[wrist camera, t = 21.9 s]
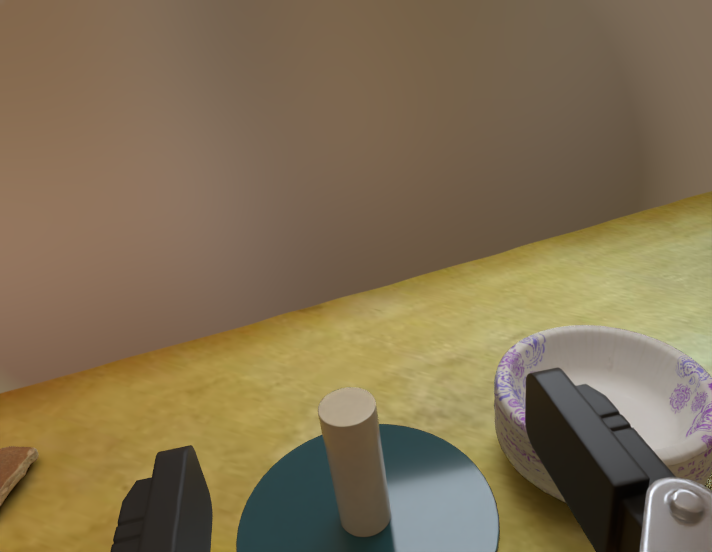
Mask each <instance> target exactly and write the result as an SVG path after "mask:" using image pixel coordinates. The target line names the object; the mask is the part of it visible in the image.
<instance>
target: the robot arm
mask: <svg viewBox="0 0 712 552" xmlns="http://www.w3.org/2000/svg"><path fill="white" fill-rule="evenodd" d="M525 426H526V431H527V435H528V438H529V441H530V443H531V445H532V447H533V449H534V451H535V452H536V454H537V456H538V457H539V459H540V460H541V462H542V464H543V465H544V467H545V469H546V470H547V472H548V474H549V475H550V477H551V478H552V480H553V482H554V483H555V485H556V487H557V488H558V490H559V492H560V493H561V495H562V496H563V498H564V500H565V501H566V503H567V505H568V506H569V508H570V510H571V511H572V513H573V515H574V516H575V518H576V519H577V521H578V523H579V524H580V526H581V528H582V529H583V531H584V533H585V534H586V536H587V537H588V539H589V541H590V542H591V544H592V546H593V547H594V549H595V551H596V552H712V491H711V490H710V489H709V488H707V487H705V486H704V485H702V484H700V483H697V482H695V481H692V480H689V479H685V478H679V477H676V476H675V475H674V474H673V473H672V472H671V471H670V469H669V468H668V467H667V466H666V465H665V464H664V463H663V461H662V460H661V459H660V458H659V457H658V456H657V454H656V453H655V452H654V451H653V450H652V449H651V447H650V446H649V445H648V444H647V443H646V442H645V441H644V439H643V438H642V437H641V436H640V435H639V434H638V432H637V431H636V430H635V429H634V428H631V426H630V423H629V422H628V421H627V420H626V419H625V417H624V416H623V415H620V413H619V410H618V409H617V408H616V407H615V406H614V405H613V403H612V402H611V401H610V400H609V399H608V398H607V397H606V396H605V395H604V394H602V393H600V392H599V391H597V390H595V389H594V388H592V387H590V386H589V385H587V384H582V385H577V386H575V385H574V383H573V382H572V381H571V380H570V379H569V377H568V376H567V375H566V374H565V372H564V371H563V370H562V369H561V368H558V367H557V368H552V369H547V370H542V371H538V372H533V373H529V374H528V375H527V377H526V398H525ZM211 533H212V504H211V498H210V493H209V490H208V487H207V484H206V481H205V478H204V475H203V473H202V470H201V467H200V464H199V461H198V458H197V455H196V452H195V450H194V448H193V446H191V445H190V446H185V447H181V448H176V449H171V450H166V451H161V452H158V453H157V455H156V459H155V464H154V469H153V474H152V478H147V479H142V480H138V481H136V482H135V484H134V485H133V487H132V488H131V490H130V491H129V493H128V494H127V496H126V497H125V499H124V500H123V502H122V506H121V510H120V514H119V519H118V527H116V531H115V535H114V539H113V541H114V544H113V545H112V547H111V552H210V548H211Z"/></svg>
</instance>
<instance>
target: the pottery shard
mask: <svg viewBox="0 0 712 552" xmlns="http://www.w3.org/2000/svg"><path fill="white" fill-rule="evenodd" d="M37 458H38V451H37V449H35V448H32V447H14V446H13V447H12V446H11V447H6V448H2V449H0V506H1V505H2V503H3V501H4V500H5V499H6V497H7V495H8V494H9V493H10V491H11V490H12V489H13V487H14V486H15V485H16V484H17V483H18V481H19V480H20V479H21V478H23V477H24V476H25V475H26V471H27V469H28V467H29V466H30V464H31V463H33V462H34V461H36V460H37Z"/></svg>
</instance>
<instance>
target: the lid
mask: <svg viewBox="0 0 712 552" xmlns="http://www.w3.org/2000/svg"><path fill="white" fill-rule="evenodd" d="M318 415H319V420H320V425H321V430H322V435H320V436H318V437H316V438H314V439H311V440H309V441H307V442H305V443H304V444H302V445H300V446H298V447H297V448H295V449H294V450H292V451H291V452H289V453H288V454H287V455H285V456H284V457H283V458H282V459H280V460H279V461H278V462H277V463H276V464H275V465H273V466H272V468H271V469H270V470H269V471H268V472H267V473H266V474H265V475H264V476H263V477H262V479H261V480H260V481H259V483H258V484H257V486H256V487H255V488H254V490H253V492H252V494H251V495H250V497H249V499H248V501H247V503H246V505H245V508H244V510H243V513H242V516H241V519H240V523H239V527H238V533H237V541H236V550H237V552H498V549H499V540H500V530H499V515H498V510H497V505H496V501H495V498H494V496H493V493H492V490H491V488H490V486H489V484H488V483H487V481H486V479H485V477H484V476H483V474H482V473H481V472H480V470H479V469H478V468H477V466H476V465H475V464H474V463H473V462H472V461H471V460H470V459H469V458H468V457H467V456H466V455H465V454H464V453H463V452H461V451H460V450H459V449H457V448H456V447H455V446H453V445H452V444H450V443H448V442H447V441H445V440H443V439H441V438H439V437H437V436H435V435H433V434H430V433H427V432H424V431H421V430H419V429H414V428H410V427H406V426H399V425H391V424H379V421H378V414H377V407H376V401H375V398H374V397H373V395H372V394H371V393H369V392H368V391H366V390H364V389H361V388H355V387H348V388H342V389H338V390H335V391H333V392H331V393H329V394H328V395H326V396H325V397H324V398H323V399H322V401H321V402H320V404H319V407H318Z"/></svg>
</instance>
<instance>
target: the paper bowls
mask: <svg viewBox="0 0 712 552" xmlns="http://www.w3.org/2000/svg"><path fill="white" fill-rule="evenodd" d="M557 367H558V368H561V369H562V370H563V371H564V372H565V374H566V375H567V376H568V377H569V379H570V380H571V381H572V382H573V383H574V385H575V386H577V385H582V384H587V385H589V386H590V387H592V388H594V389H595V390H597V391H599V392H600V393H602V394H604V395H605V396H606V397H607V398H608V399H609V400H610V401H611V402H612V403H613V405H614V406H615V407H616V408H617V409H618V410H619V413H620V415H623V416H624V417H625V419H626V420H627V421H628V422H629V423H630V426H631V428H634V429H635V430H636V431H637V432H638V434H639V435H640V436H641V437H642V438H643V439H644V441H645V442H646V443H647V444H648V445H649V446H650V447H651V449H652V450H653V451H654V452H655V453H656V454H657V456H658V457H659V458H660V459H661V460H662V461H663V463H664V464H665V465H666V466H667V467H668V468H669V469H670V471H671V472H672V473H673V474H674V475H675V476H676V477H679V478H685V479H689V480H692V481H695V482H697V483H700V484H702V485H704V486H705V484H706V483H707V481H708V478H709V477H710V476H711V473H712V378H711V376H710V375H709V374H708V373H707V372H706V371H705V370H704V369H703V367H702V366H700V365H699V364H698V363H697V362H696V361H694V360H693V359H692V358H690V357H689V356H687V355H686V354H684V353H683V352H681V351H679V350H678V349H676V348H674V347H672V346H670V345H668V344H666V343H664V342H662V341H660V340H657V339H655V338H652V337H649V336H646V335H643V334H640V333H636V332H632V331H628V330H624V329H619V328H613V327H606V326H593V325H575V326H564V327H557V328H553V329H548V330H544V331H541V332H538V333H535V334H533V335H530V336H528V337H526V338H524V339H522V340H521V341H519V342H518V343H516V344H515V345H514V346H512V347H511V348H510V349H509V350H508V351H507V352H506V354H505V355H504V356H503V358H502V359H501V361H500V363H499V365H498V368H497V371H496V375H495V380H494V395H495V400H494V409H495V428H496V433H497V437H498V440H499V443H500V446H501V448H502V450H503V452H504V453H505V455H506V456H507V458H508V459H509V461H510V462H511V464H512V465H513V466H514V467H515V469H516V470H517V471H518V472H519V473H520V474H521V475H522V476H523V477H524V478H526V479H527V480H528V481H530V482H531V483H533V484H534V485H535V486H536V487H538V488H539V489H541V490H542V491H544V492H545V493H547V494H549V495H551V496H553V497H555V498H557V499H559V500H561V501H563V502H565V503H566V501H565V500H564V498H563V496H562V495H561V493H560V492H559V490H558V488H557V487H556V485H555V483H554V482H553V480H552V478H551V477H550V475H549V474H548V472H547V470H546V469H545V467H544V465H543V464H542V462H541V460H540V459H539V457H538V456H537V454H536V452H535V451H534V449H533V447H532V445H531V443H530V441H529V438H528V435H527V431H526V426H525V398H526V377H527V375H528V374H529V373H533V372H538V371H542V370H547V369H552V368H557Z"/></svg>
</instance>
